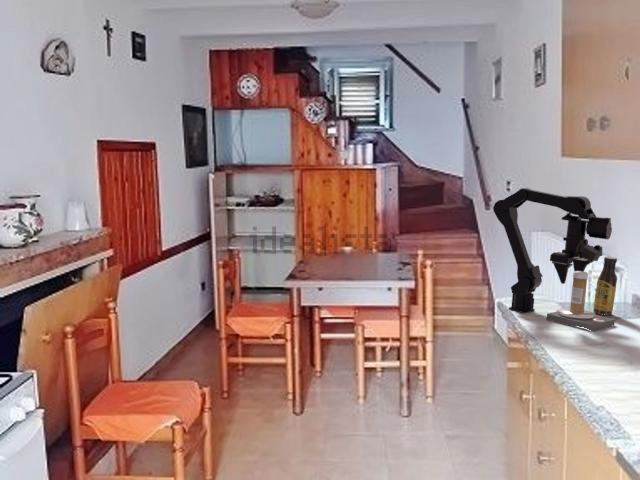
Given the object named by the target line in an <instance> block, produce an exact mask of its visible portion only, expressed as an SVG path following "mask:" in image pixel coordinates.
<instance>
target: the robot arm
mask: <svg viewBox="0 0 640 480" xmlns="http://www.w3.org/2000/svg"><path fill="white" fill-rule="evenodd" d="M526 202H532V203H537V204H540V205H541V204H542V205H546V206H549V207H555V208H558V209H561V210H562V211H564V212H566V215H564V216H563V217H561V220H563V221H567V229H566V236H564V237H563V239H562V240H563V241H565V245H564V248H563V249H562V250H561V252H560V251H557V252H556V251H555V252H552V253H551V254H550V256H549V261H550V262H551V264H553V266H554V268H555V270H556V272H557V275H558V278H559V281H560V284H563V285H564V284H565V283H566V281H567V277H568V272H569V269H570V268H571V267H572V266H573V272H574V271H582V272H585V270H586V268H587V266H588V265H590V264H592V263H594V262H598V260H599V259H600V257H602V256H603V246H601V245H600V244H597V245H590V244H588V243H589V241H588V239H587V238H586V234H587V235H588V237H589V238H595V239H601V240H609V239H610V238H611V235H612V232H613V227H612V222H611V221H612V218H611V217H600V216H597V214H596V213H595V212H594V210H593V209H592V207H591V206H592V204H591V201H590V199H589V198H588V197H587V196H583V195H582V196H576V195H571V196H570V195H558V194H555V193H549V192H545V191H539V190H535V189H531V188H528V187H525V188H520V189H518V190H517V191H516V192H514V193H512V194H511V195H509V196H507V197H505V198H504V199H499V200H497V201H496V202H495V203H494V204H493V206H492V210H493V212H494V214H495V217H496V218H497V220H498V221H499V223H500V224H501V225H502V226H503V228H504V231H505V233H506V236H507V239H508V242H509V244H510V248H511V250H512V254H513V257H514V260H515V263H516V267H517V268H516V269H517V270H516V276H517V282H516V283H514V284H513V285H511V287H510V289H511V293H512V298H511V306H510V307H508V310H511V311H515V312H520V313H523V314H526V313H530V312H534V311H535V310H536V309H535V308H534V305H535V298H534V296H535V295H534V292H535V291H536V289H537V288H539V287H540V285H542V282H543V279H542V278H543V276H544V275H542V272H541V270H540V265H538V264H537V265H535V264H533V263H532V261H531V259H530V255H529V253H528V250H527V247H526V245H525V244H526V243H525V241H524V238H523V236H522V233H521V230H520V227H519V223H518V219H519V218H518V217H519V214H518V209H519V208H520V207H521V206H522V205H524V203H526Z"/></svg>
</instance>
